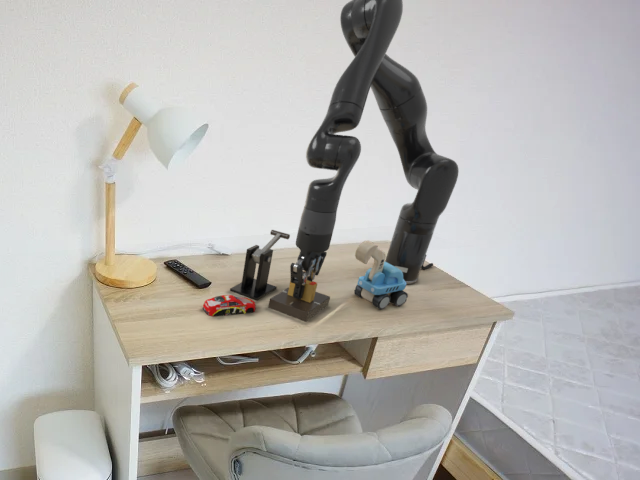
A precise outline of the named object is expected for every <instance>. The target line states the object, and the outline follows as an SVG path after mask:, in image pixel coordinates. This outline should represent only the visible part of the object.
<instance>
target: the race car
mask: <svg viewBox="0 0 640 480" xmlns="http://www.w3.org/2000/svg"><path fill="white" fill-rule="evenodd" d="M256 307H257V304H256V302H255V300H253V299H250V298H248V297H245V296H242V297H241V296H235V295H233V294H223V295H217V296H214V297H211V298H208V299H205V300H204V303H203V305H202V311H204V313H205V314H206V315H208V316H211V317H224V316H234V315H245V314H251V313H255V311H256Z"/></svg>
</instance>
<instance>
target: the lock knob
mask: <svg viewBox="0 0 640 480" xmlns="http://www.w3.org/2000/svg"><path fill="white" fill-rule="evenodd" d="M288 287H289V290H288V295H290V296H292V297H293V292H294V287H295V284H294V283H291V279H290V281H289V285H288ZM317 288H318V282H317V281H314V280H313V281H312V282H311V281H308V280H306V284H305V288H304V293H303V297H302V298H301V300H304V301H306V302H309V303H310V302H312V301H313V300H314V296H315V292H317Z"/></svg>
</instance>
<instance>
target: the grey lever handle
mask: <svg viewBox="0 0 640 480" xmlns="http://www.w3.org/2000/svg"><path fill="white" fill-rule="evenodd" d="M270 235H271V236H273V237H272V238H271V239H270V240H269V241H268V242H267V243H266V244H265V245H264V246H263V248H260V247H259V248H258V249H257V250H256V251H255V252H254V253H253V254H252V262H255V263H256V264H258V265H259V261H260V255H261V253H263V252H265V251H267V250H269V249H272V247H274V246H275V244H277V243H278V241H279V240H280V239H281V238H282V239H284V240H289V239H290V237H291V234H289V233H286V232H282V231H279V230H275V229H271V230H270Z"/></svg>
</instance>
